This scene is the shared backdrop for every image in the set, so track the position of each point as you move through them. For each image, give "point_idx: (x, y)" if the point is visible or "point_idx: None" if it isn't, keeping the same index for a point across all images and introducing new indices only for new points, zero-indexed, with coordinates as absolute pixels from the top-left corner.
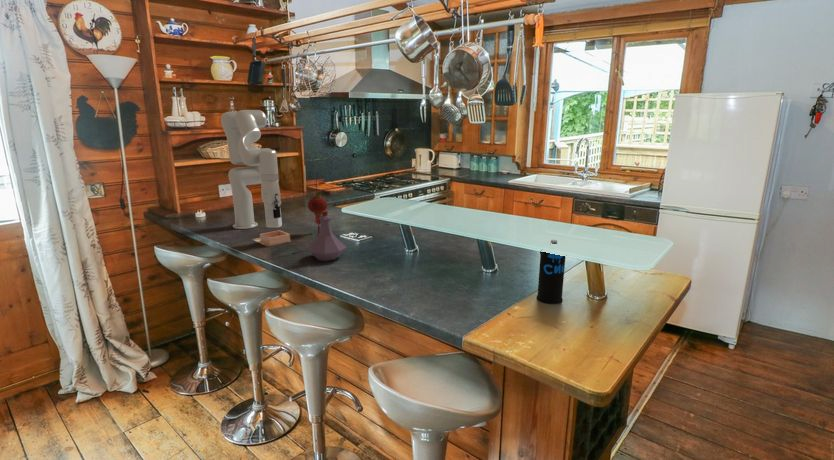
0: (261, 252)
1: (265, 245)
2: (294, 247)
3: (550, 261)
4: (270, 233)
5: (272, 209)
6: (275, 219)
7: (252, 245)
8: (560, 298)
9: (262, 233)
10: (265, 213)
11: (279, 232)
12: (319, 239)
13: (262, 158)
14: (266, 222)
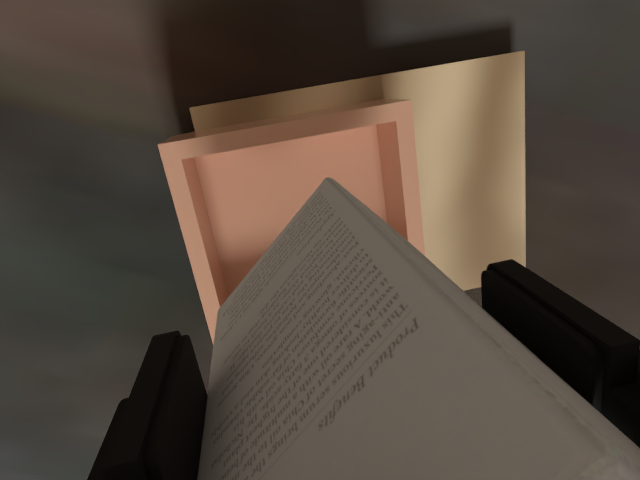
0: (98, 21)
1: (230, 104)
2: (122, 319)
3: None
4: (401, 217)
5: (266, 451)
6: (233, 342)
7: (390, 18)
8: None
9: (413, 134)
10: (377, 245)
11: None
12: None
13: None
14: (332, 197)
